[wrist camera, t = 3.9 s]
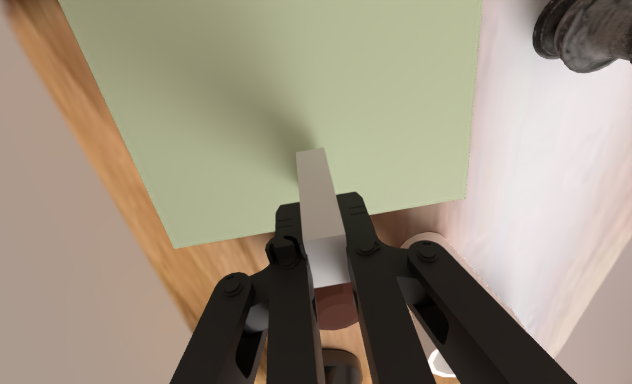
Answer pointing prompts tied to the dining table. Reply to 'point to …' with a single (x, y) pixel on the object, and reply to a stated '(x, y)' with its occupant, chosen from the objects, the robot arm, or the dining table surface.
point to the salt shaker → (585, 33)
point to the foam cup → (430, 350)
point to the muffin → (335, 306)
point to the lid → (284, 101)
